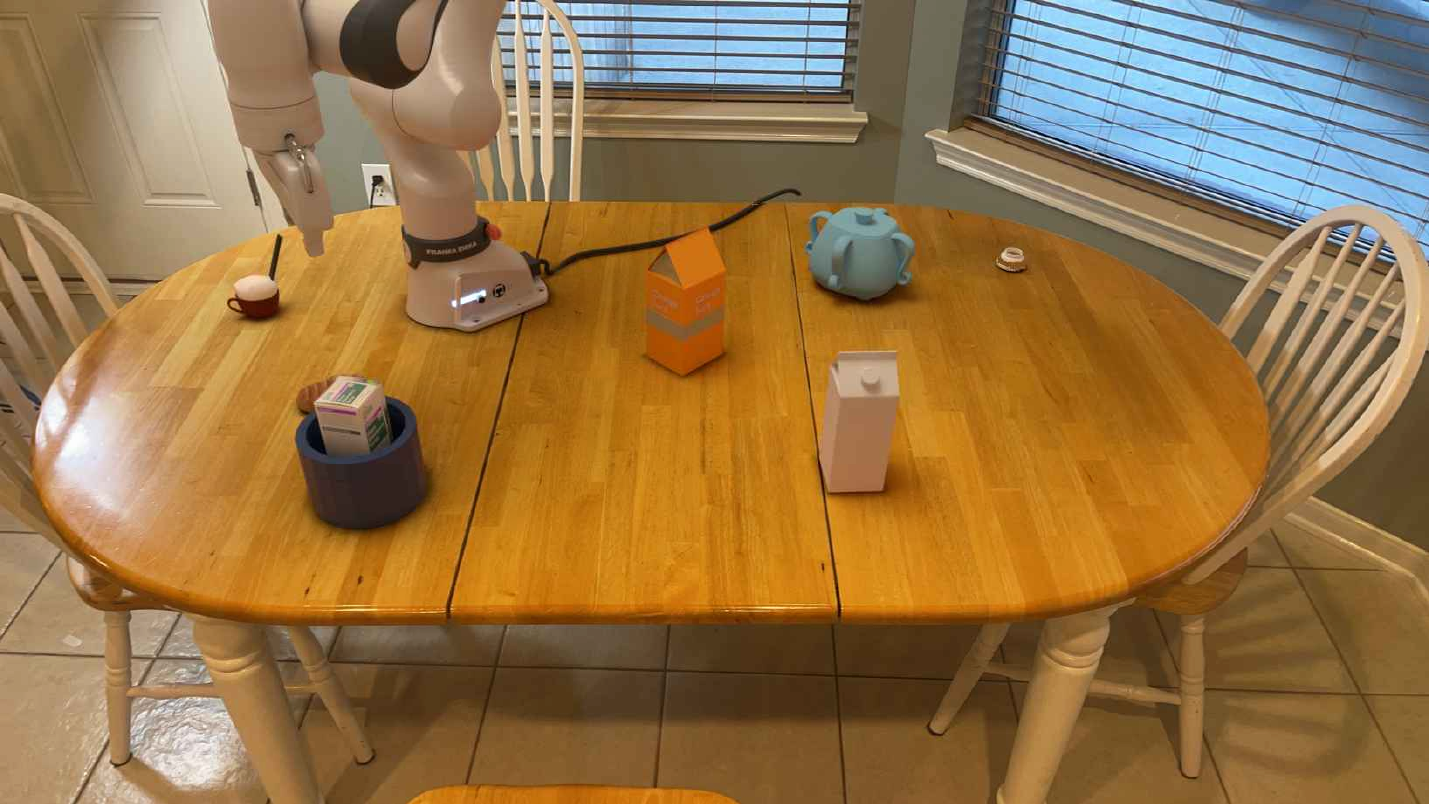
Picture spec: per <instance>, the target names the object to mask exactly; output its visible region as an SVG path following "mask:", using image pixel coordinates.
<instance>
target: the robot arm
mask: <svg viewBox="0 0 1429 804" xmlns="http://www.w3.org/2000/svg"><path fill="white" fill-rule="evenodd" d="M507 3H508V0H207V10H208V16H209V17H208V18H209V22H210V30H211V33H212V34H211V35H212V38H213V43H214V46H215V50H216V54H217V58H218V60H219V62H220V64H221V65H222V67H223V69H224V71H225V74H226V79H227V99H228V104H229V107H230V111H231V115H232V119H233V124H234V127H235V131H236V135H237V140H238V142H239V144H241V145H242V146H244V147H245V148H248V149H251V152H252V154H253V157H254V160H255V162H256V165H257V167H258V169H259V171H260V173H261V174H262V176H263V178H264V179H265V180H266V182H267V184H268V185H269V187H270V188H271V190H272V191H273V193H274V194H275V196H276V197H277V200H278V201H279V204H280V207H281V209H282V214H283V218H284V220H285V221H286V222H287V224H288V225H291V226H292V225H295V226H296V228H297V230H299V232H300V233H301V234H302V237H303V238H302V242H303V246H304V250H305V252H306V254H307V255H308V257H309V258H316V257H322V256H323V255H324V254H325V246H324V242H323V240H324V232H326V231H330V230H332V229H334V226H335V217H334V212H333V208H332V204H331V199H330V195H329V191H328V186H327V183H326V180H325V179H326V178H325V176H324V173H323V169H322V167H321V164H320V162H319V161H318V159H317V158H316V156H315V155H314V154H313V153H314V152H315V150H316V149H317V148H316V143H317V142H318V141H319V140H321V139H322V138H323V137H324V135H325V126H324V122H323V117H322V111H321V107H320V102H319V101H320V100H319V97H318V92H317V91H318V90H317V86H316V83H315V82H314V80H313V77H314V75H315V74H316V73H320V72H325V73H329V74H333V75H339V76H342V77H347V78H348V90H349V94H350V97H351V99H352V101H353V104H355V106H356V108H358V109H359V110H360V112H361V113H362V115H364V117H365V118H366V120H367V121H368V123H369V124H370V126H371V128H372V130H373V131H374V134H375V136H376V138H377V140H378V143H379V145H380V147H381V149H382V151H383V153H384V156H385V158H386V160H387V163H388V165H389V167H390V170H391V172H392V176H393V178H394V182H395V185H396V186H395V187H396V190H397V191H396V192H397V196H398V202H399V208H400V214H401V218H402V224H401V227H400V230H401V244H402V251H403V255H404V259H405V261H406V263H407V271H408V272H407V273H408V274H407V275H408V281H407V282H408V283H407V297H406V302H405V312H406V314H407V315H408V317H410V318H411V319H412V320H414V321H415V322H417V323H419V324H422V325H426V326H429V327H435V328H449V329H456V330H459V331H464V332H468V333H471V332H476V331H479V330H480V329H484V328H486V327H488V326H491V325H493V324H496V323H499V322H501V321H503V320H506V319H508V318H512V317H513V316H516V315H519V314H521V313H523V312H524V313H525V312H527V311H529V310H532V309H534V308H537V307H538V306H541V305H544V304H546V303H547V302H548V299H549V292H548V287H547V285H546V284H545V282H544V281H543V279H542V278H540V276H541V275H542V265H544V267H543V272H544V273H545V274H546V275H549V276H551V275H553V274H555V273H557V272H558V271H559V270H561V269H563V268H565V267H566V266H567V265H569V264H570V263H571V262H573V261H575V260H577V259H580V258H584V257H588V256H594V255H599V254H609V253H616V252H622V251H629V250H635V249H642V248H647V247H652V246H658V245H662V244H668V243H670V242H673V241H675V240H677V239H679V238H682V237H684V236H686V235H688V234H691V233H693V232H695V231H698V230H700V229H701V228H699V229H696V230H692V231H689V232H686V233H682V234H679V235H674V236H670V237H669V236H668V237H664V238H659V239H655V240H654V239H653V240H648V241H644V242H638V243H637V242H636V243H631V244H623V245H617V246H610V247H604V248H603V247H602V248H595V249H588V250H583V251H579V252H576V253H573V254H571V255H569V256H568V257H567V258H565V260H563V261H562V262H561V263H560V264H559V265H558V266H556V267H555V268H553V269H551V268H550V266H551V264H550V261H549V260H547V259H545V258H536V257H534V256H533V255H531V254H530V253H528V251H526V250H522V251H520V252H519V251H518V250H517V249H516V248H515V247H513V246H512V245H511V244H508V243H506V242H504V241H501V238H502V236H503V232H502V230H501V228H499V227H498V226H497V225H495V224H493V223H492V224H491V223H490V221H489V220H488V219H487V218H485V217H483V216H482V215H481V214H479V213H478V211H477V202H476V193H475V184H474V177H473V175H472V172H471V169H470V168H469V166H468V165H467V163H466V162H465V161H464V159H463V158H462V157H461V156H460V154H459V153H458V151H459V152H477V151H481V150H483V149H484V148H486V147H488V146H489V145H490V144H491V143H492V142H493V140H494V139H495V137H496V136H497V135H498V133H499V130H500V128H501V123H502V118H503V116H502V115H503V114H502V113H503V111H502V110H503V109H502V104H501V100H500V97H499V95H498V93H497V91H496V88H495V87H494V82H493V75H492V55H493V46H494V42H495V38H496V33H497V31H498V28H499V26H500V22H501V20H502V17H503V15H504V14H503V13H504V11H505V9H506V6H507ZM785 194H794V195H796V196H798V197H800V196H802V192H801V191H799V190H798V189H796V188H792V187H791V188H790V187H789V188H783V189H780V190H777V191H775V192H773V193H771V194H769V195H766V196H762V197H760V198H759V199H757V200H756V201H754V202H752V204H759V205H761V204H763V203H765V202H767V201H770V200H772V199H774V198H777V197H779V196H782V195H785ZM759 205H753V206H752V205H751V204H749V205H748V206H747V207H745V208H743V209H742V210H740V211H737V212H736V213H735V214H733V215H732V214H731V215H730V216H729V217H727V218H724V219H722V220H720V221H718V222H715V223H713V224H710V225H707V226H708V228H709V231H710V232H711V231H713V230H715V229H718V228H721V227H723V226H725V225H727V224H729V223H731V222H733V221H735V220H736V219H739V218H740V217H742V216H744V215H746V214H747V213H749V212H751V211H752V210H754V209H756V207H758V206H759ZM749 207H750V208H749Z"/></svg>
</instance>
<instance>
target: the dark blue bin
mask: <svg viewBox="0 0 1429 804" xmlns="http://www.w3.org/2000/svg"><path fill="white" fill-rule="evenodd" d="M384 396H385V401H386V406H387V411H388V415H389V420H390V425H391V429H392V434H393V439H394V442H393V443H392V444H390V445H389V446H387V447H385V448H383V449H381V450H379V451H377V452H373V453H370V454H367V455H364V456H357V457H349V458H342V457H331V456H327V452H326V448H325V445H324V441H323V437H322V433H321V429H320V425H319V421H318V418H317V414H316V410H314V411H312V412H311V413H309V414H307V415H306V416H305V417H304V418H303V419H302V420H301V421H300V423H299V425H298V426H297V428H296V430H295V438H294V442H295V446H296V450H297V454H298V457H299V462H300V464H301V469H302V473H303V477H304V481H305V485H306V489H307V493H308V496H309V500H310V503H311V506H312V509H313V512H315V514H316V515H317V516H318V518H319V519H321V520H322V521H323V522H325V523H327V524H329V525H332V526H334V527H337V528H342V529H348V530H365V529H372V528H377V527H382V526H384V525H388V524H391V523H393V522H395V521H398V520H400V519H402V518H404V517H405V516H406V515H408V514H409V513H410V512H412V511H413V510H415V509H416V507H418V505H419V504H420V503H421V502H422V500H423V498H424V497H425V494H426V492H427V476H426V468H425V462H424V456H423V450H422V443H421V440H420V439H421V438H420V434H419V428H418V422H417V416H416V414H415V413H414V411H413V409H412V408H411V406H410V405H408V404H407V403H405V402H403V401H402V400H401V399H398V398H394V397H391V396H387V395H384Z"/></svg>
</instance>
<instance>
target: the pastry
mask: <svg viewBox="0 0 1429 804" xmlns="http://www.w3.org/2000/svg"><path fill="white" fill-rule="evenodd" d="M338 376H347V377H358V378H364V379H365V377H364V375H363V374H362V373H361V372H356V373H354V374H351V373H350V374H334V375H330V376H329V377H328V378H326V379H324V380H321V381H317V382H316V381H315V382H313V383H312V384H310V385H307V386H305V387H303V388H302V389H300V390H299V392H298V393H297V396H296V398H295V404H296V405H297V407H298V408H299V409H300V410H302V411H304V412H307V413H309V414H310V413H311V412H312V411H314V410H315V406H314V402H315V401H316V400H317V399H318V398H319V397H320V396H321V395H322V394H323V393H324V391H325V390H326V389H327V388H328V387H330V386H331V385H332V384H333V383H334V382H335V380H336V379H337V377H338Z"/></svg>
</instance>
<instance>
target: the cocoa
mask: <svg viewBox="0 0 1429 804" xmlns="http://www.w3.org/2000/svg"><path fill="white" fill-rule="evenodd" d="M283 239H284V238H283V237H282V235H281V234H280V233H277V235H276V237H275V242H274V248H273V252H272V257H271V262H270V267H269V270H268V272H269V273H268V275H260V274H251V275H248V276H246V277H243V278H241V279H239V280H237V281H235V282H234V284H233V289H234V293H235V294H234V296H235V297H230V298H228V299H227V301H226V305H227V307H228V308H229V309H230V310H231V311H233V312H235V313H238V314H242V315H246V316H249V317H251V318H256V319H261V318H267V317H269V316H271V315H272V314H274V313H275V312H276V311H277V310H278V308H279V304H280V289H279V288H278V287H279V282H278V281H277V279H276V271H277V267H278V263H279V262H278V261H279V259H280V258H279V257H280V253H281V248H282V243H283ZM231 302H237V305H238V307H239V308H240V309H238V308H235V307H233V306H231Z"/></svg>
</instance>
